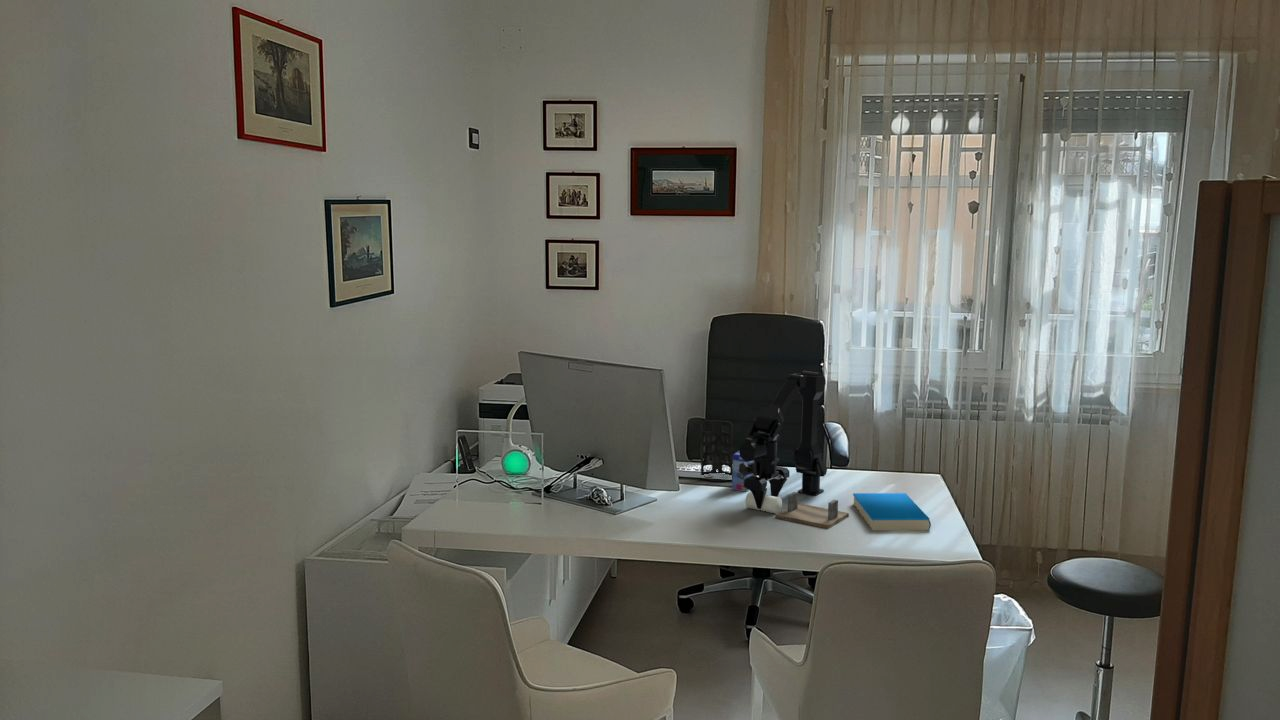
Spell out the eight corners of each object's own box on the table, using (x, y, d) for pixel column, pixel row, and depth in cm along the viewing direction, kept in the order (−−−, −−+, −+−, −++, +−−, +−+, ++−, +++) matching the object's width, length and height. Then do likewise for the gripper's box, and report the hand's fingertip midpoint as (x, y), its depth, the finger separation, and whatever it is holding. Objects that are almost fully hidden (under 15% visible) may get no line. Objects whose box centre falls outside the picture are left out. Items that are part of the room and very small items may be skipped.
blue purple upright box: (747, 492, 307) (747, 449, 304) (731, 490, 309) (731, 447, 307) (758, 484, 315) (758, 442, 313) (742, 482, 318) (743, 440, 316)
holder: (701, 482, 318) (701, 424, 315) (699, 476, 326) (699, 419, 323) (733, 482, 319) (734, 424, 316) (731, 475, 326) (731, 419, 323)
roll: (755, 498, 294) (750, 488, 290) (783, 503, 288) (778, 494, 285) (748, 511, 291) (743, 501, 288) (777, 517, 285) (772, 507, 282)
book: (872, 518, 269) (852, 492, 294) (871, 533, 270) (851, 505, 294) (932, 518, 269) (907, 491, 294) (931, 532, 270) (906, 505, 294)
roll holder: (797, 506, 292) (797, 487, 291) (848, 516, 282) (849, 496, 281) (775, 517, 281) (776, 498, 280) (828, 528, 271) (828, 508, 270)
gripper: (759, 445, 299) (758, 493, 302) (728, 457, 284) (727, 507, 287) (790, 450, 293) (789, 499, 295) (761, 463, 278) (760, 514, 280)
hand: (766, 504), depth 289 cm, fingers open, 9 cm apart
